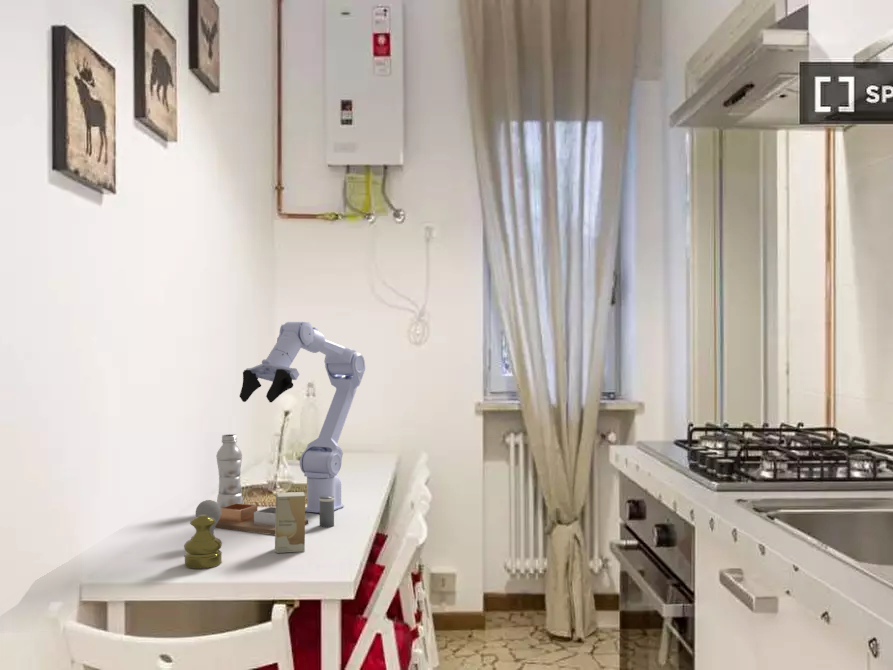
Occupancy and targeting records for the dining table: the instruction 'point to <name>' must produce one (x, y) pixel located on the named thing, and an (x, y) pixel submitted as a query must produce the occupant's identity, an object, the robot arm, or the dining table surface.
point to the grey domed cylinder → (326, 511)
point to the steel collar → (265, 517)
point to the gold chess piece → (203, 545)
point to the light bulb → (209, 511)
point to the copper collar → (238, 512)
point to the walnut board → (248, 526)
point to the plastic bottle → (229, 472)
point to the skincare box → (290, 522)
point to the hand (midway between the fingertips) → (255, 399)
